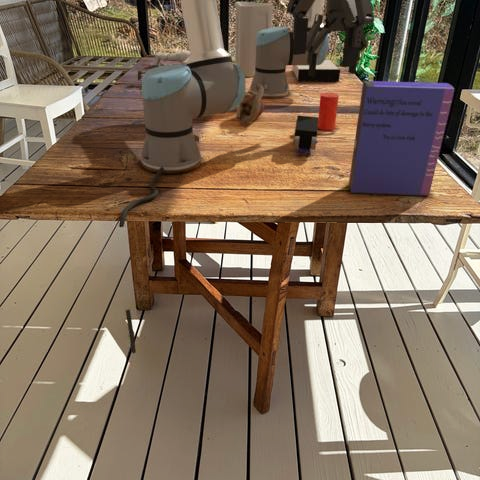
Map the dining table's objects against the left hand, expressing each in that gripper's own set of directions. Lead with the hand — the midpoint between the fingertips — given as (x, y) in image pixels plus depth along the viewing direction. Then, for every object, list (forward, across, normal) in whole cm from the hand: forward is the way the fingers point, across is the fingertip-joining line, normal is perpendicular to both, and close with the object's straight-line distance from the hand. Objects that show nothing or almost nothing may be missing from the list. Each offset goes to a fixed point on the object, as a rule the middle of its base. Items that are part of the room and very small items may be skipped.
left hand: (322, 59), depth 90 cm
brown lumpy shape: (+30, +55, -22) cm, 66 cm away
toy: (+30, +138, -46) cm, 149 cm away
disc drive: (+30, +93, -85) cm, 130 cm away
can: (+30, +36, -39) cm, 61 cm away
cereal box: (+30, -6, -19) cm, 36 cm away
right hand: (+14, +36, -39) cm, 55 cm away
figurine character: (+30, +25, -20) cm, 44 cm away
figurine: (+30, +111, -25) cm, 118 cm away
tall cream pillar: (+30, +113, -66) cm, 134 cm away
